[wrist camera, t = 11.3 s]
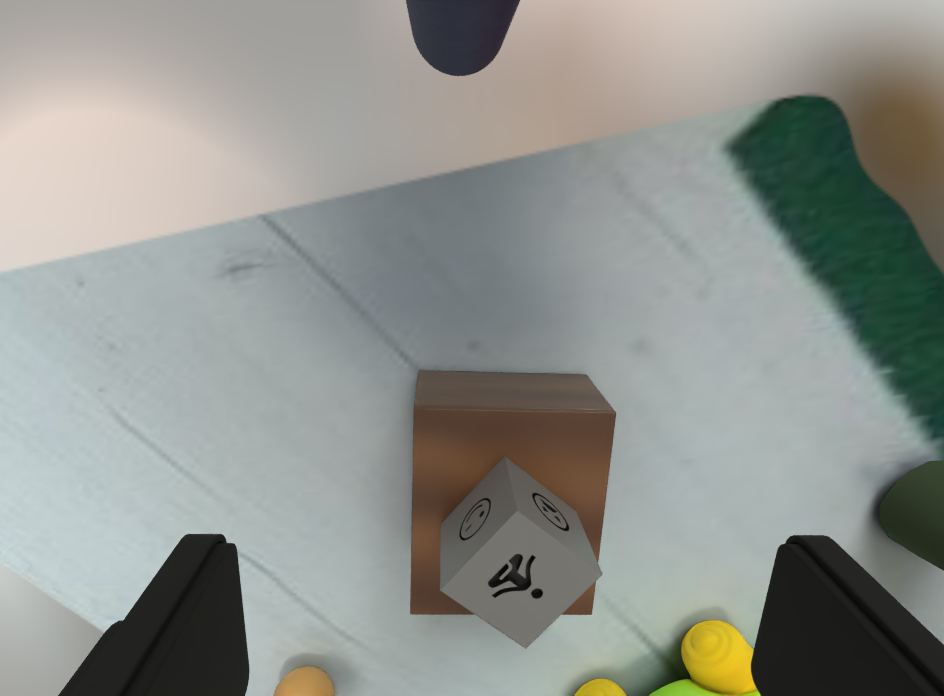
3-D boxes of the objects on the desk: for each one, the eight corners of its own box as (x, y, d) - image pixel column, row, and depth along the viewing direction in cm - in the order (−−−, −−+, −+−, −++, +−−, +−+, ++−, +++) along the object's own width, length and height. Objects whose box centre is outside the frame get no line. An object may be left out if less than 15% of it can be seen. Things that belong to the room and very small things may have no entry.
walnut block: (418, 370, 33) (413, 408, 27) (586, 374, 34) (616, 412, 28) (415, 547, 36) (410, 614, 31) (568, 548, 37) (592, 614, 31)
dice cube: (504, 455, 28) (517, 510, 23) (576, 511, 29) (602, 574, 24) (440, 524, 29) (440, 590, 24) (512, 575, 30) (525, 648, 25)
